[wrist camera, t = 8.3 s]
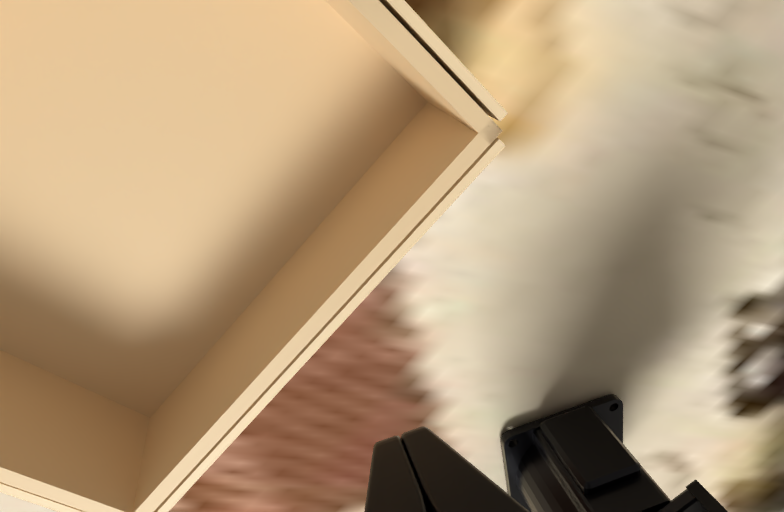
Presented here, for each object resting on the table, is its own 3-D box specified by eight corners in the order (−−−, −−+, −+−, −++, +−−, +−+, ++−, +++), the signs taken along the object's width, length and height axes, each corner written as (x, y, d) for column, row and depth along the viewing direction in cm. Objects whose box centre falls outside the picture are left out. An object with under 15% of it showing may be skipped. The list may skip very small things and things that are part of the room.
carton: (459, 97, 20) (523, 128, 16) (156, 438, 23) (139, 544, 19) (107, -270, 14) (51, -386, 10) (-249, 261, 17) (-417, 358, 12)
